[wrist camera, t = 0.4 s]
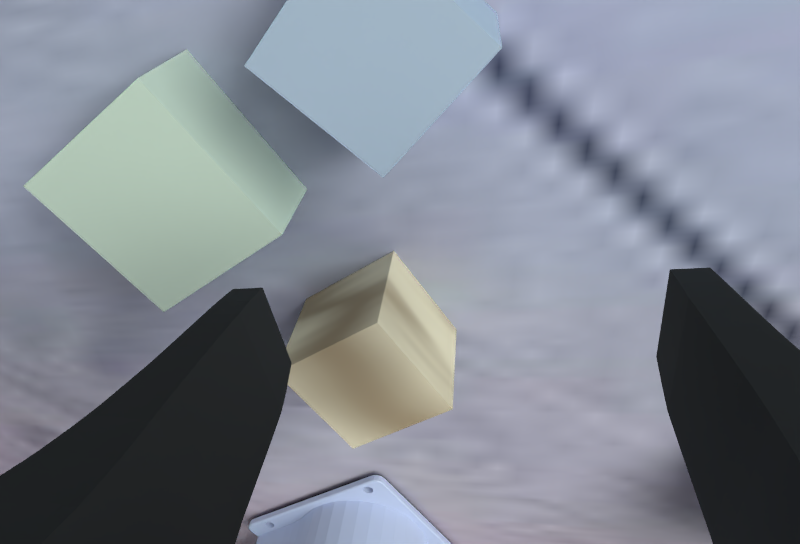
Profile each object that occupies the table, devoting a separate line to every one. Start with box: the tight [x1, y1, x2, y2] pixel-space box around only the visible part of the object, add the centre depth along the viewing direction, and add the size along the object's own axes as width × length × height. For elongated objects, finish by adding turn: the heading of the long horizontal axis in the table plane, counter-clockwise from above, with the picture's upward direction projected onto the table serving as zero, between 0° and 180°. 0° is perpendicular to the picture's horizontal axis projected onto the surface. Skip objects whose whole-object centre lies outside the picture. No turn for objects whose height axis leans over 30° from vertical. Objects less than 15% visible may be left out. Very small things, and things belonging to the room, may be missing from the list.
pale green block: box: [24, 50, 307, 312], centre depth 20 cm, size 6×6×4 cm
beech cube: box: [286, 251, 456, 449], centre depth 22 cm, size 4×4×4 cm
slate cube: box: [244, 0, 502, 178], centre depth 16 cm, size 4×4×4 cm
